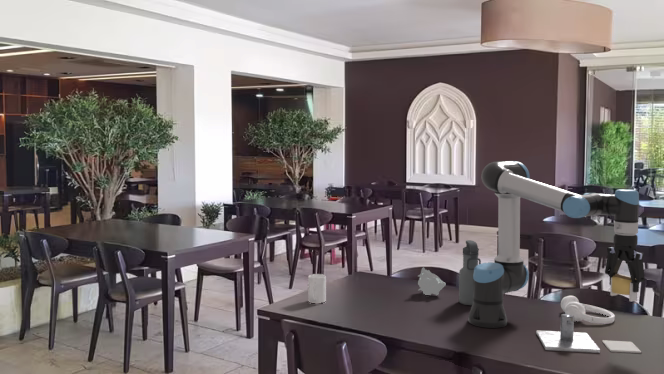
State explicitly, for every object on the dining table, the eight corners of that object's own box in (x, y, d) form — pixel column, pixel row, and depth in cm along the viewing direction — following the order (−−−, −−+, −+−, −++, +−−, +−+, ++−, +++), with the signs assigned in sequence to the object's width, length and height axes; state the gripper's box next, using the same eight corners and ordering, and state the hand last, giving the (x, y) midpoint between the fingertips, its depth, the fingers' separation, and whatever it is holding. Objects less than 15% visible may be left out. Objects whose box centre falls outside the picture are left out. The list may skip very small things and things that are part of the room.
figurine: (448, 293, 284) (424, 283, 292) (448, 269, 276) (423, 259, 284) (436, 305, 277) (412, 294, 285) (436, 281, 270) (411, 270, 278)
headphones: (566, 323, 237) (619, 331, 233) (569, 303, 236) (622, 311, 232) (557, 309, 256) (606, 316, 252) (560, 291, 255) (609, 298, 251)
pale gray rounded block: (301, 305, 263) (301, 279, 262) (311, 298, 274) (311, 273, 273) (318, 307, 260) (318, 280, 259) (328, 300, 271) (328, 274, 270)
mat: (610, 351, 205) (610, 349, 205) (602, 341, 215) (602, 340, 215) (641, 353, 204) (641, 351, 204) (631, 343, 214) (631, 341, 214)
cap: (606, 290, 210) (607, 274, 210) (622, 288, 213) (623, 272, 212) (624, 295, 203) (624, 278, 203) (640, 293, 206) (641, 276, 205)
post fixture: (545, 349, 207) (546, 322, 206) (536, 333, 225) (537, 307, 224) (599, 352, 204) (601, 324, 203) (586, 335, 222) (587, 309, 221)
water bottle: (484, 305, 262) (485, 243, 260) (462, 306, 261) (463, 243, 259) (476, 299, 272) (478, 239, 270) (456, 300, 271) (457, 239, 269)
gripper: (594, 230, 215) (592, 292, 216) (642, 238, 196) (639, 306, 197) (610, 229, 217) (608, 290, 219) (659, 237, 198) (656, 304, 200)
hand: (623, 297), depth 208 cm, fingers closed on cap, 7 cm apart
